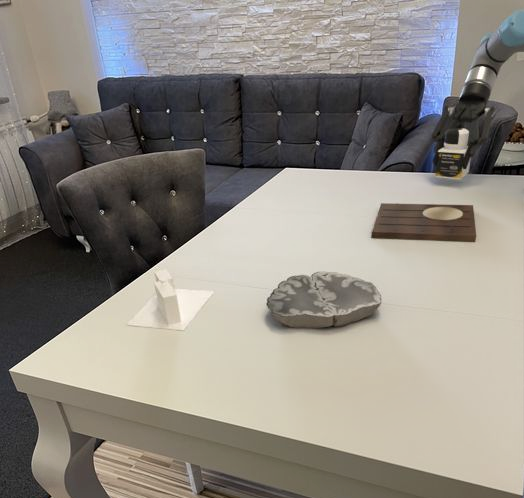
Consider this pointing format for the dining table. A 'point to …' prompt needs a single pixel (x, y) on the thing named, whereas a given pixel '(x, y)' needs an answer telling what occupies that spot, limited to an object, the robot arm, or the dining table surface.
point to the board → (425, 222)
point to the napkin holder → (170, 305)
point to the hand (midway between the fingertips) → (449, 164)
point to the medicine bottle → (453, 154)
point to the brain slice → (323, 300)
